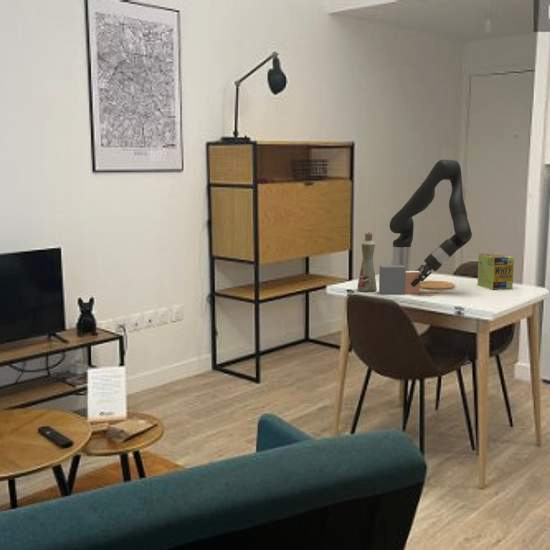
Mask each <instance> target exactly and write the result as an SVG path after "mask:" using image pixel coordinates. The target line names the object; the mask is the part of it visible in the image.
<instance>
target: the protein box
mask: <svg viewBox="0 0 550 550" xmlns="http://www.w3.org/2000/svg"><path fill="white" fill-rule="evenodd" d="M514 262H515V257H514V256H509V255H506V254H502V253H479V254H478V263H477V264H478V266H477V286H479V287H483V288H485V287H486V289H488V288H489V289H488V290H491V289H492V290H491V291H499V290H498V289H507V290H513V282H514V266H515V265H514V264H515V263H514Z"/></svg>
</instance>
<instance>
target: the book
mask: <svg viewBox="0 0 550 550" xmlns="http://www.w3.org/2000/svg"><path fill="white" fill-rule="evenodd" d="M418 275H419V271H416V270H410V271H406V278H405V295H415V294H417V295H421V294H420V292H421V282H419V283H418V284H417V285H416V286H415V287H413V286H412V285H411V283H412V282H413V281H414V280H415V279H417V277H418Z"/></svg>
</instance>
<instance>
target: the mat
mask: <svg viewBox="0 0 550 550" xmlns="http://www.w3.org/2000/svg"><path fill="white" fill-rule="evenodd" d="M443 294H444V295H446V293H444V292H439V291H436V290H423V291H422V290H420V294H419V295H422V296H426V297H434V296H435V295H436V296H442V295H443ZM444 295H443V296H444Z"/></svg>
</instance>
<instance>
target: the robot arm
mask: <svg viewBox="0 0 550 550" xmlns="http://www.w3.org/2000/svg"><path fill="white" fill-rule="evenodd" d="M444 180H446V181H450V185H451V194H450V196H449V197H450V198H449V200H448V207H449V209H448V210H449V212H450V213H449V214H450V217H451V221H452V224H453V225H452V226H453V229H454V234H453V235H452V236H451V237H450V238H447V239H445V240H444V241H443V242H442V243H441V244H440V245H439V246H438V247H437V248H434V250H433V251H431V252H430V254H428V256H427V257H425V259H424V260H423V261H424V263H425V264H421V265H420V266H419V267H418V268H417V269H416V270H415V271H419V275H418V277H417V279H415V280H414V281H413V282H412V283H411V285H412V286H413V287H415V286H416V285H417V284H418V283H419V282H420V283H422V282H424V281H425V280H426V279H427V278H428V277H429V276H430V275H432V273H433V272H435V273H436V272H437V271H438V270H439V269H441V267H442V266H444V264H446V263H447V261H448V260H449V259H450V258H451V257H453V255H454V254H455V253H456V252H457V251H459V249H461V248H463V246H465V245H466V244H468V242H470V240H471V239H472V237H473V232H472V230H471V227H470V222H469V219H468V213H467V208H466V204H465V201H464V192H463V191H464V190H463V177H462V169H461V164H460V163H459V161H457V160H455V159H440V160H438V161H437V162H436V163H435V164H434V165H433V167H432V169H431V170H430V172H429V173H428V175H427V177H426V178H425V179H424V181H423V182H422V183H421V184H420V186H419V187H418V188H417V189H416V191H414V193H413V194H412V195H411V197H410V198H409V199H408V201H407V202H405V204H404V205H403V206H402V207H401V209H399V210H398V211H397V212H396V213H395V214H394V215H393V217H392V218H391V219H390V221H389V230H390V231H391V233H393V234H399V237H397V238H396V239H395V240H393V241H392V260H391V263H390V265H404V266H405V267H406V271H411V263H412V261H411V260H412V258H411V257H412V253H411V252H412V242H413V239H414V229H415V228H414V219H413V217H415V216H416V215H418V214H420V213H422V212H423V211H425V210H426V209H427V208H428V207H429V206H430V205H431V203H432V202H433V201H434V199H435V196H436V187H438V185H439V183H440V182H441V181H444ZM432 271H433V272H432Z"/></svg>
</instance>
